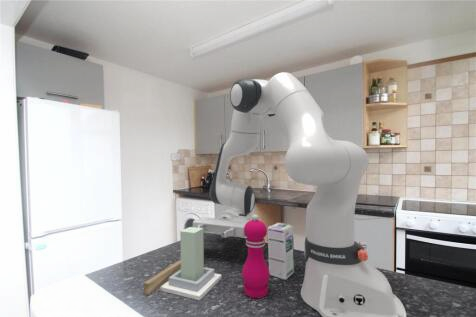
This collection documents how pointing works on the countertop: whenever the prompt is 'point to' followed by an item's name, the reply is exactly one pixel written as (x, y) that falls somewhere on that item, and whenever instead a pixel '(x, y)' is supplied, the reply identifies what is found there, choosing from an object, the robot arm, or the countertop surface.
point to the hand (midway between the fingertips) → (209, 233)
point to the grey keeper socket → (191, 284)
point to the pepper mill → (255, 259)
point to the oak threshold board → (161, 278)
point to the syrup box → (281, 250)
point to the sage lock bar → (192, 253)
